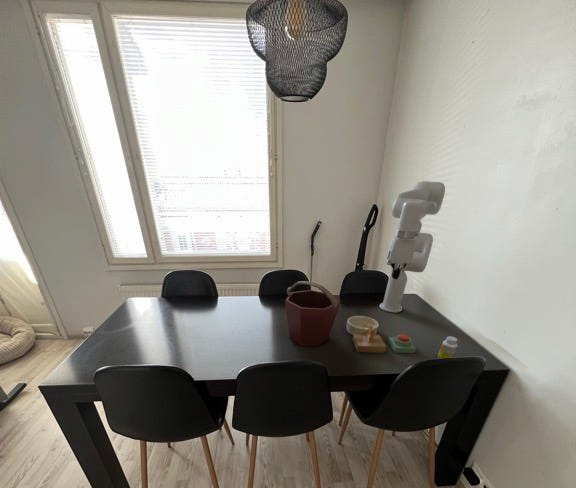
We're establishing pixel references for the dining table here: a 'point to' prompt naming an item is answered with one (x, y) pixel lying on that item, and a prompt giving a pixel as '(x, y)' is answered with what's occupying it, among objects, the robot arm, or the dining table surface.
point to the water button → (403, 338)
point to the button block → (401, 345)
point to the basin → (360, 324)
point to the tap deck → (368, 344)
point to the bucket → (310, 314)
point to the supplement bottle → (448, 348)
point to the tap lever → (369, 333)
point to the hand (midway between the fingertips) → (394, 278)
